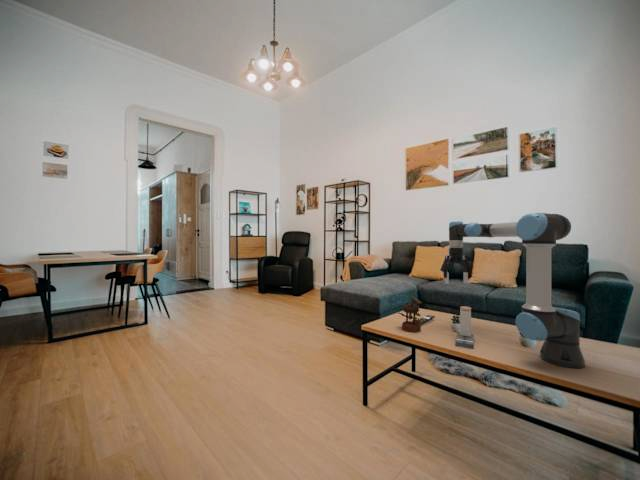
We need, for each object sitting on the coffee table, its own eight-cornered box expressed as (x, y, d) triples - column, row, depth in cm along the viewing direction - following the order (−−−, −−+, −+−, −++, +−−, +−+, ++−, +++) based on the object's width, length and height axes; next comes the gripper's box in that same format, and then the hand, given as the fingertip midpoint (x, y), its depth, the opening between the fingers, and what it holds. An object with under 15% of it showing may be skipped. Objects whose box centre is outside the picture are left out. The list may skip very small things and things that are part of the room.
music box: (426, 330, 166) (426, 296, 165) (418, 336, 158) (417, 300, 157) (403, 324, 177) (402, 292, 175) (393, 329, 169) (393, 296, 168)
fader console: (457, 335, 157) (457, 331, 157) (473, 338, 154) (473, 334, 154) (455, 345, 142) (455, 341, 142) (473, 348, 138) (473, 344, 138)
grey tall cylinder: (460, 332, 156) (460, 305, 156) (470, 334, 153) (471, 307, 153) (459, 335, 151) (460, 307, 151) (470, 336, 148) (471, 309, 148)
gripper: (468, 248, 176) (468, 282, 175) (434, 247, 170) (434, 282, 169) (478, 247, 169) (478, 283, 168) (442, 246, 162) (442, 284, 161)
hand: (456, 283), depth 168 cm, fingers open, 13 cm apart
